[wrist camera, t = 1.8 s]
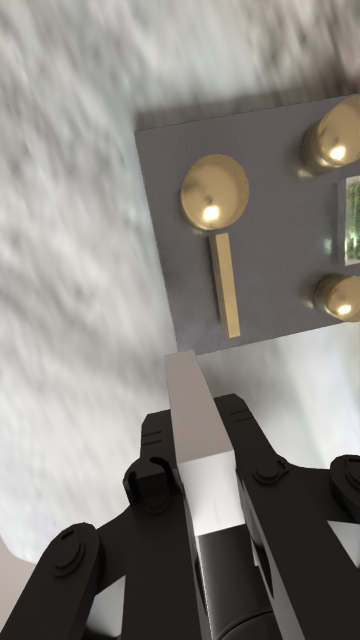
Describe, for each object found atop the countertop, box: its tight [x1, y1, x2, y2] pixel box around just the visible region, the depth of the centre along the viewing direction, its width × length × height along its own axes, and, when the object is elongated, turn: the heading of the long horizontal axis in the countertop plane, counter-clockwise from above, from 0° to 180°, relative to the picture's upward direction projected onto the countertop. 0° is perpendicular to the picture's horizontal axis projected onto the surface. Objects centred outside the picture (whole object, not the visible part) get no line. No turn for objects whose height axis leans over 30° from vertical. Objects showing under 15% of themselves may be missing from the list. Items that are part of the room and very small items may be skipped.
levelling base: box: [134, 93, 360, 356], centre depth 26 cm, size 24×24×6 cm
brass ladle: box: [179, 154, 249, 338], centre depth 25 cm, size 17×6×4 cm, turn 10°
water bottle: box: [198, 517, 283, 640], centre depth 27 cm, size 10×10×23 cm
